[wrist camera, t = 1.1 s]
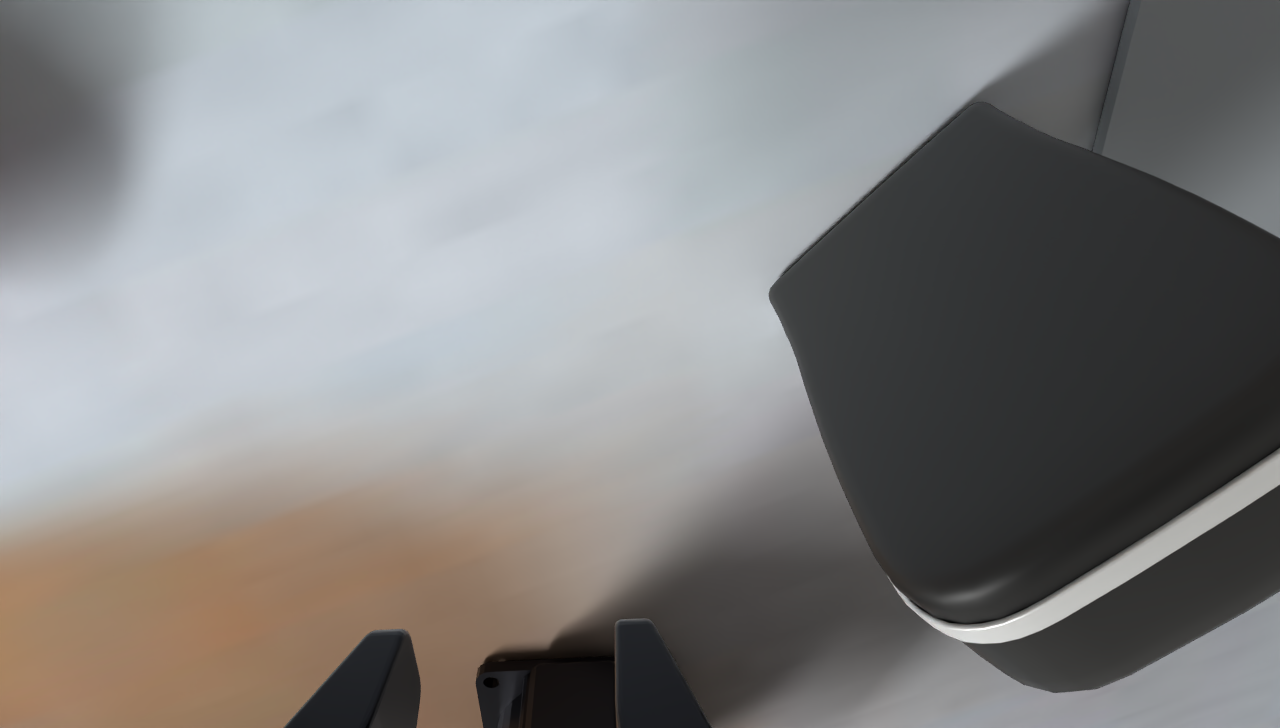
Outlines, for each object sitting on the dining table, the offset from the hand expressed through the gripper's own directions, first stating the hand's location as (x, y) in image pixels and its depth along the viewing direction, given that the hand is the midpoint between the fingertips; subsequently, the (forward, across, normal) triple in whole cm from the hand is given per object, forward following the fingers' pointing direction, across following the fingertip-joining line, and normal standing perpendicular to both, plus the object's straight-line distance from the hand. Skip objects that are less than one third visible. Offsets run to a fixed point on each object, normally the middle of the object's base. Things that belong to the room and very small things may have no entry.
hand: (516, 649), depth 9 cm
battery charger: (+12, -8, 0) cm, 15 cm away
